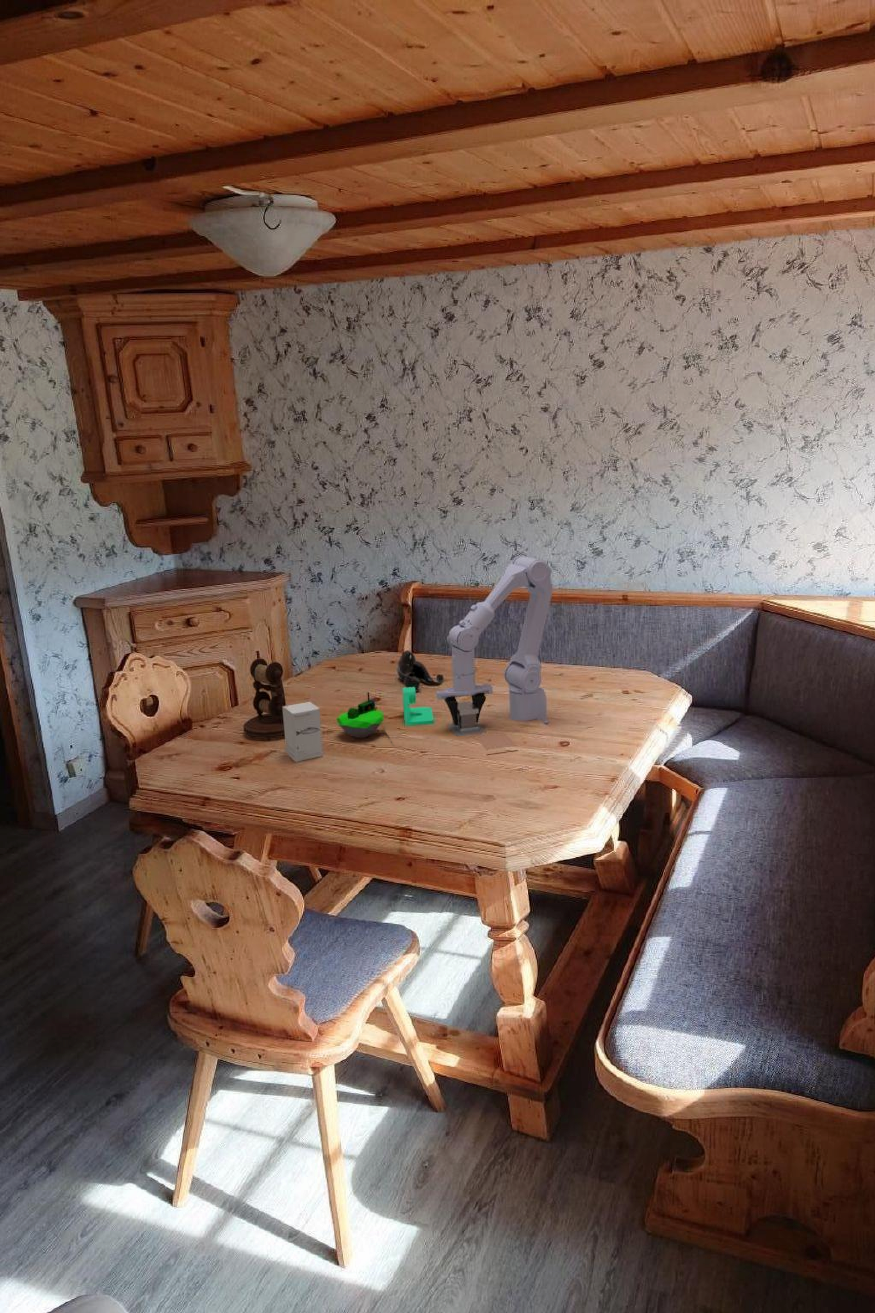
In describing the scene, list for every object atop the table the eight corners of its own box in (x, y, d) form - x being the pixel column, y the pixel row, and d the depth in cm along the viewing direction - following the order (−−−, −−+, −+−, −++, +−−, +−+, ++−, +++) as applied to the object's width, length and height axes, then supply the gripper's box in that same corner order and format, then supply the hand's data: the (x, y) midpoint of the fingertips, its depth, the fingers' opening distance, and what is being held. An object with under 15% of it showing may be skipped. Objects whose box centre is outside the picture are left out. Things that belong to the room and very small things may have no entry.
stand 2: (504, 738, 235) (504, 732, 235) (517, 750, 226) (517, 745, 226) (474, 742, 233) (474, 736, 233) (486, 755, 224) (486, 749, 224)
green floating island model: (359, 726, 250) (356, 687, 247) (393, 732, 243) (390, 692, 241) (329, 739, 241) (325, 698, 238) (363, 746, 234) (360, 704, 231)
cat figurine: (433, 682, 297) (444, 708, 281) (392, 674, 293) (401, 700, 277) (442, 655, 293) (454, 679, 277) (401, 646, 289) (410, 671, 273)
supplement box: (295, 763, 225) (291, 713, 222) (285, 753, 231) (281, 705, 228) (324, 756, 228) (320, 708, 225) (313, 748, 234) (309, 700, 231)
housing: (471, 722, 244) (470, 701, 242) (479, 730, 237) (478, 708, 235) (452, 725, 242) (451, 703, 241) (460, 733, 236) (459, 711, 234)
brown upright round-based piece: (311, 730, 248) (305, 658, 243) (266, 745, 238) (259, 670, 233) (277, 719, 258) (270, 650, 253) (233, 734, 248) (225, 662, 242)
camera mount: (434, 730, 244) (432, 692, 242) (405, 731, 244) (403, 694, 241) (431, 715, 256) (429, 680, 253) (403, 717, 256) (401, 681, 253)
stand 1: (474, 725, 246) (474, 720, 245) (486, 737, 236) (486, 732, 236) (446, 729, 244) (445, 724, 243) (456, 741, 234) (456, 736, 234)
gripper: (485, 665, 241) (487, 714, 245) (432, 671, 238) (434, 721, 241) (494, 672, 235) (496, 722, 238) (439, 678, 231) (442, 730, 235)
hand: (465, 722), depth 239 cm, fingers closed on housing, 5 cm apart
